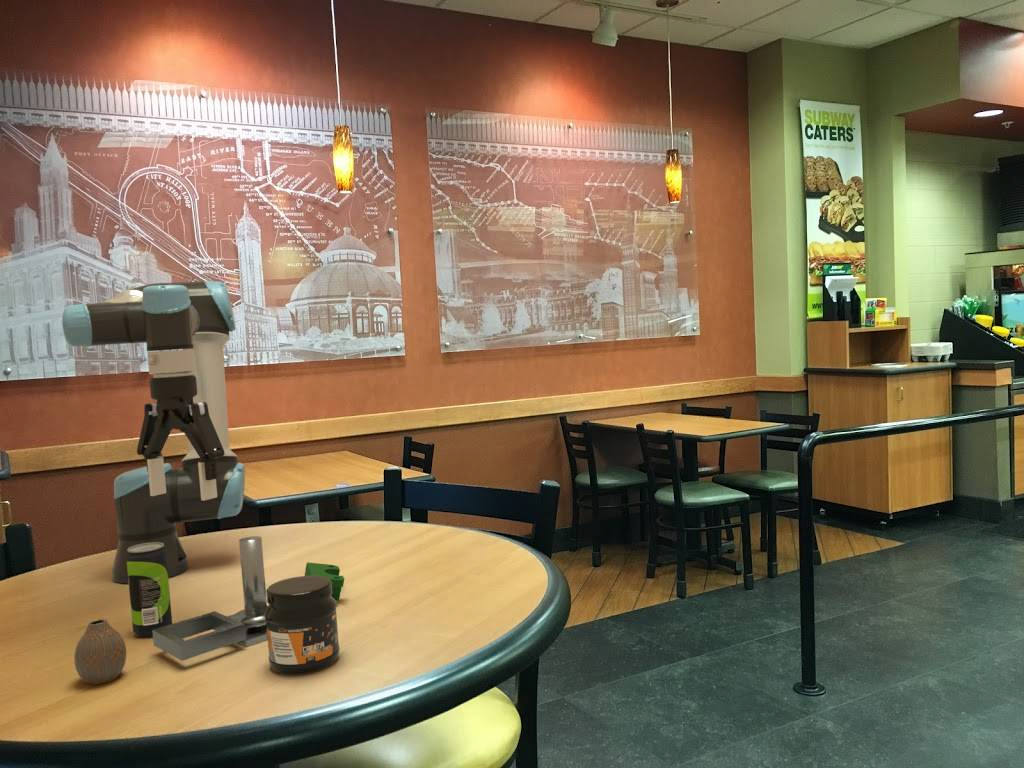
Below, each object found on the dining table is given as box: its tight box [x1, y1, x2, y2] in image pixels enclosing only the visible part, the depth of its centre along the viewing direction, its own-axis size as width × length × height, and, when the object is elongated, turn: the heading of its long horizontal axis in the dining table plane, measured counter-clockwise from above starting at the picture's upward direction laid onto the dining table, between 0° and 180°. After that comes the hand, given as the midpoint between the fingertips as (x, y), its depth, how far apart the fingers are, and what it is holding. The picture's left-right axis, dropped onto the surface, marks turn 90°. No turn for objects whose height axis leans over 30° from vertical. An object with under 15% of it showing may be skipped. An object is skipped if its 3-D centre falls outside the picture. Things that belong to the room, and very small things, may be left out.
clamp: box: [303, 561, 345, 602], centre depth 153 cm, size 12×6×9 cm, turn 13°
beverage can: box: [126, 542, 173, 638], centre depth 140 cm, size 6×6×15 cm
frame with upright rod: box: [152, 535, 268, 662], centre depth 133 cm, size 10×20×16 cm, turn 136°
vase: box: [73, 618, 127, 685], centre depth 121 cm, size 7×7×9 cm
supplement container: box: [265, 575, 340, 675], centre depth 123 cm, size 10×10×12 cm
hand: (183, 496), depth 142 cm, fingers open, 13 cm apart
